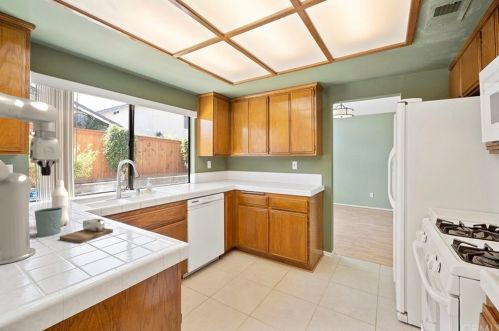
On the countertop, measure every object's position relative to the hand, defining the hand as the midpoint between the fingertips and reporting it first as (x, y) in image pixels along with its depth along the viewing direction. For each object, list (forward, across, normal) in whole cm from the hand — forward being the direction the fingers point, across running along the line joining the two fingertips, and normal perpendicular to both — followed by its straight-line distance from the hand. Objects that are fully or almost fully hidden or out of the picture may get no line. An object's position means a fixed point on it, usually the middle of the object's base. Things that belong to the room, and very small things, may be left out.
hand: (46, 175), depth 104 cm
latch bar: (+27, +11, -15) cm, 33 cm away
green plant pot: (+29, +4, +6) cm, 30 cm away
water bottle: (+29, +15, +16) cm, 37 cm away
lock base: (+29, +8, -15) cm, 34 cm away
